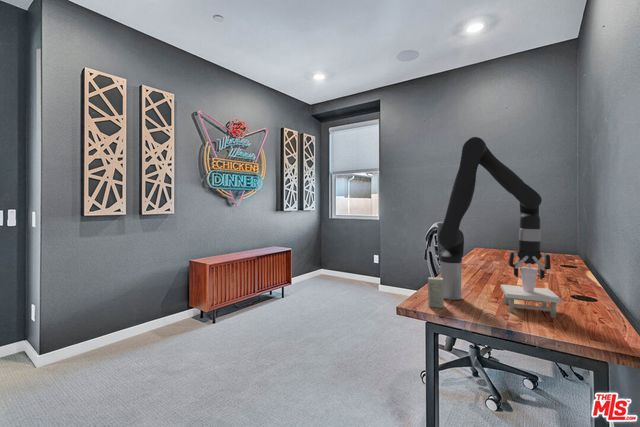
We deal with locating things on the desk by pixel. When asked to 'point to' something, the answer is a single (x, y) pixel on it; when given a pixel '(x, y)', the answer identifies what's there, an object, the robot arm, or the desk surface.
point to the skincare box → (435, 292)
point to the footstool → (530, 298)
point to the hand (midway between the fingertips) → (528, 278)
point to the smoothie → (528, 278)
